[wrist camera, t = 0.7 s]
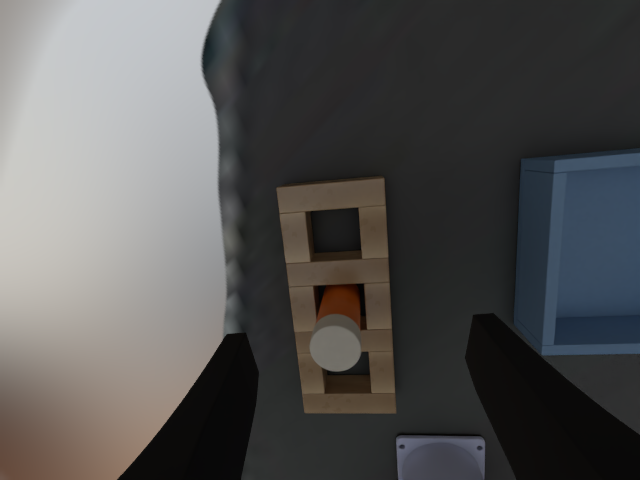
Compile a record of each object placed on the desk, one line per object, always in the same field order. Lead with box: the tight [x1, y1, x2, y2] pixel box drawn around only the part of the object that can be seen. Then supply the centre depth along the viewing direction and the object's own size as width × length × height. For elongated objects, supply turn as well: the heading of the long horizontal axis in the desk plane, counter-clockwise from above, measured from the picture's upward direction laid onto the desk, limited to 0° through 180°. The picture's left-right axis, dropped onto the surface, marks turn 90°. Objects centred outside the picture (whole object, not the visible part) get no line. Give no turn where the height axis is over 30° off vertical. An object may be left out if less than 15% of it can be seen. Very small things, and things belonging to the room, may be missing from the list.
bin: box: [514, 148, 640, 355], centre depth 24 cm, size 14×12×5 cm
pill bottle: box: [309, 284, 361, 372], centre depth 25 cm, size 3×3×8 cm
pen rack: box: [276, 176, 396, 413], centre depth 28 cm, size 20×8×3 cm, turn 6°
